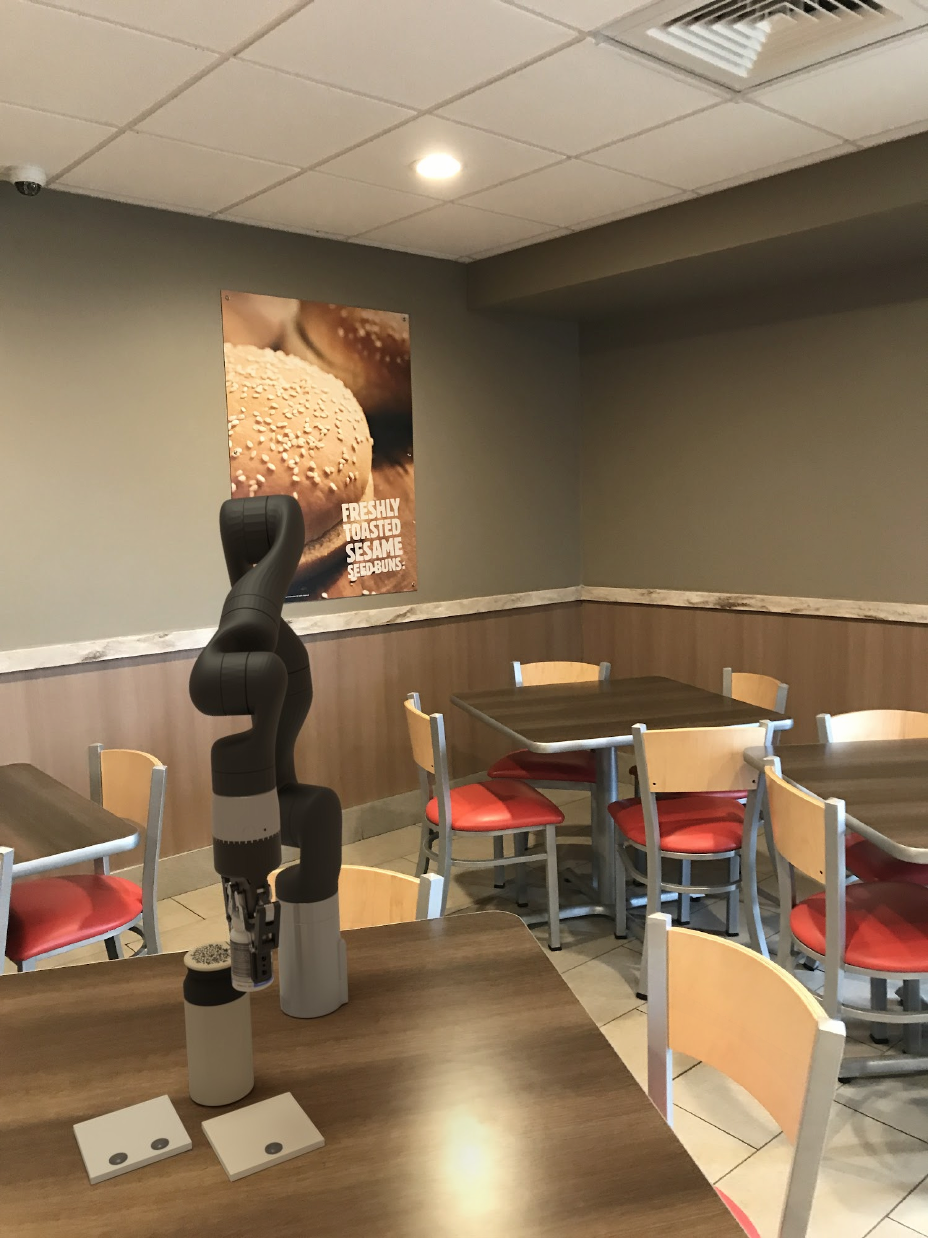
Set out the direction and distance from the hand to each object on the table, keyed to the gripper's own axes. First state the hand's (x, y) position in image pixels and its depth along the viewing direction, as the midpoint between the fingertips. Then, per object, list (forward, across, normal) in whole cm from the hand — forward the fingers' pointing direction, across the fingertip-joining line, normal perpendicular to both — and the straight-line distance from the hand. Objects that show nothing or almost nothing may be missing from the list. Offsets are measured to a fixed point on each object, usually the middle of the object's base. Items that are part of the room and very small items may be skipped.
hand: (253, 971), depth 110 cm
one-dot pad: (+20, 0, 0) cm, 20 cm away
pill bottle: (+2, 0, 0) cm, 2 cm away
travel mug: (+20, +12, +1) cm, 24 cm away
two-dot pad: (+20, +8, +13) cm, 25 cm away
